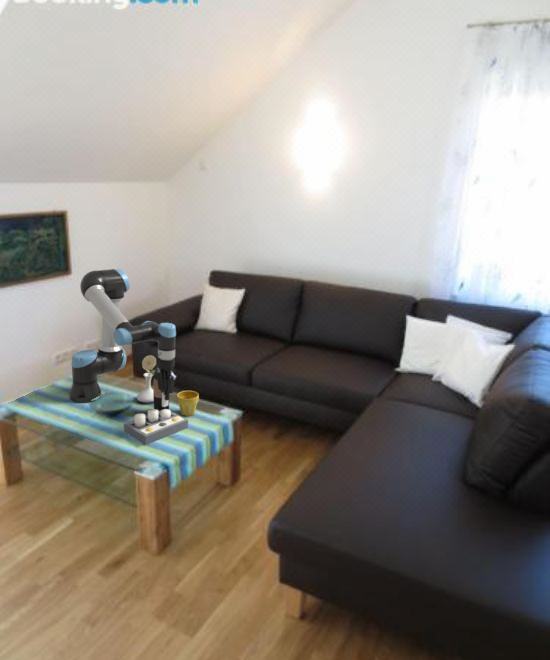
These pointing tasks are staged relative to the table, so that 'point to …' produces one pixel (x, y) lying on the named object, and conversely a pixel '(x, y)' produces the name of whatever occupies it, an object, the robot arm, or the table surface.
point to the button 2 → (152, 416)
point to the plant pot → (187, 402)
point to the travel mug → (158, 396)
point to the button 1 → (139, 420)
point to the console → (155, 435)
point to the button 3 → (165, 413)
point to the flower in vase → (147, 379)
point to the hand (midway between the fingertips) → (165, 405)
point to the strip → (162, 425)
